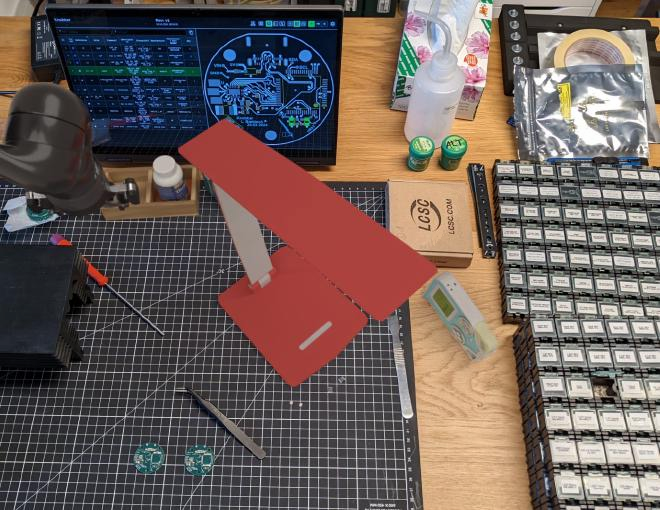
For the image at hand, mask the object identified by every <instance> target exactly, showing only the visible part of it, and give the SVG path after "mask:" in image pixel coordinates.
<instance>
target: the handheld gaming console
mask: <svg viewBox="0 0 660 510" xmlns="http://www.w3.org/2000/svg"><path fill="white" fill-rule="evenodd" d="M420 297H421V299H422V300H426V301H427V302H428V303H429V304H430V306H431V307H432V308H433V310H434V312H435V313H436V314H437V316H438V317H439V319H440V320H441V322H442V323H443V324H444V326H445V327H446V329H447V330H448V331H449V333H450V334H451V336H452V337H453V338H454V340H455V341H456V342H457V343H459V345H460V346H461V347H462V349H463V351H464V352H465V353H466V355H467V356H468V358H469V360H471V362H472V363H473V364H476V363H478V362H479V361H481V362H482V361H484V360H486V359H487V358H489V357H490V356H492V355H493V354H495V352H496V351H497V349H498V347H499V342H498V339H497V338H496V336H495V334H494V333H493V331H492V330H491V329H490V327H489V326H488V324H487V321H486V318H485V317H484V315H483V313H482V312H481V310H480V309H479V308H478V306H477V305H476V303H474V301H473V299H471V297H470V296H469V294H468V293H467V291H466V290H465V288H464V287H463V286H462V284H461V283H460V282H459V280H458V279H457V277H456V276H454V274H453V273H451V271H447V270H445V271H443V272H441V273H440V274H438V275H437V276H435V277H432V279H431V281H430V283H428V285H427V287H426V288H425V289H424V292H423V293H422V295H421V296H420Z"/></svg>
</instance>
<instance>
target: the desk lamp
mask: <svg viewBox="0 0 660 510" xmlns="http://www.w3.org/2000/svg"><path fill="white" fill-rule="evenodd" d="M177 151H178V154H179V155H180V156H182V158H184V159H185V160H187V161H188V162H189V163H190V165H192V164H193V165H194V166H195V167H196V168H197V169H198V171H199V172H202V173H203V174H204V176H205V177H206V178H207V179H208V180H209V179H210V180H212V183H213V186H214V189H215V192H216V195H217V198H218V201H219V202H218V201H217V202H218V204H219V207H220V210H221V214H222V216H223V219H224V222H225V225H226V227H227V230H228V232H229V236H230V238H231V240H232V244H233V246H234V248H235V251H236V253H237V256H238V258H239V260H240V263H241V266H242V267H243V270H244V271H245V275H244V276H243V277H241V278H239V279H238V280H237V281H235V282H234V283H233V284H232V285H230V287H227V289H226V290H224V291H223V292H222V293H221V294H219V295H218V298H217V302H218V304H219V306H220V307H221V308H222V309H223V311H225V313H226V314H227V315H228V316H229V318H230V319H231V320H232V321H233V323H235V324H236V326H237V327H238V328H239V330H240V331H241V332H242V333H243V334H244V335H245V336H246V338H247V339H248V340H249V341H250V342H251V343H252V345H253V346H254V347H255V348H256V350H257V351H258V352H259V353H260V354H261V355H262V356H263V357H264V358H265V360H266V361H267V362H268V363H269V365H271V367H272V369H274V370H275V372H277V374H278V375H279V376H280V377H281V379H283V381H284V382H285V384H287V385H288V386H290V387H291V388H295V387H298V386H300V385H301V384H302V383H304V382H305V381H307V380H308V379H309V378H310V377H311V376H314V375H315V374H316V373H317V372H318V371H320V370H321V369H322V368H324V367H325V366H327V365H328V364H329V363H331V362H332V361H334V360H335V359H336V358H337V357H338V356H339V355H340V354H341V353H342V352H343V351H344V350H345V348H347V346H348V345H349V344H350V343H352V341H353V340H354V339H355V338H356V337H357V336H358V334H359V333H360V332H362V330H363V329H364V328H365V327H366V326H367V325H368V322H369V318H368V317H367V315H366V314H368V315H369V316H370V317H371V318H372V319H373V320H375V321H379V322H384V321H385V320H387V319H388V317H390V316H391V315H392V314H393V313H394V312H395V311H396V310H397V309H399V308H400V307H401V306H402V305H403V304H404V303H405V302H407V300H409V299H410V298H411V297H412V296H413V295H414V294H415V293H417V291H419V290H420V289H421V288H422V287H423V286H424V285H425V284H427V282H429V281H430V280H432V279H433V278H434V276H435V275H436V274H438V273H439V270H438V268H437V265H436V264H434V263H433V262H432V261H430V260H429V259H427V257H425V256H424V255H422V254H421V253H419V252H418V251H417V250H415V249H414V248H412V247H411V246H410V245H408V243H406V242H404V241H403V240H402V239H400V238H399V237H397V236H396V235H395V234H393V233H392V232H390V231H389V230H388V229H387V228H385V227H384V226H382V225H381V224H380V223H379V222H378V221H376V220H375V219H373V218H372V217H370V216H369V215H367V214H366V213H365V212H364V211H362V210H361V209H359V208H358V207H357V206H355V205H354V204H352V203H351V202H350V201H349V200H347V198H344V197H343V196H342V195H340V194H339V193H338V192H336V191H335V190H334V189H332V188H330V187H329V186H328V185H326V184H325V183H324V182H323V181H322V180H320V179H318V178H317V177H316V176H315V175H313V174H312V173H310V172H308V171H307V170H306V169H304V168H302V167H301V166H299V165H298V164H296V163H295V162H293V161H292V160H291V159H289V158H287V157H286V156H284V155H282V154H281V153H279V152H278V151H277V150H275V149H273V148H272V147H270V146H268V145H267V144H266V143H264V142H263V141H261V140H259V139H258V138H256V137H255V136H253V135H252V134H251V133H249V132H247V131H245V130H244V129H242V128H241V127H239V126H238V125H236V124H235V123H234V122H231V121H230V120H229V119H225V118H223V119H221V120H219V121H218V122H216V123H215V124H213V125H211V126H210V127H209V128H207V129H205V130H204V131H202V132H201V133H199V134H198V135H196V136H195V137H193V138H192V139H190V140H189V141H187V142H186V143H184V144H182V145H180V146H179V147H178V150H177ZM202 173H201V174H202ZM260 223H261V224H262V225H263V226H264V227H266V228H267V229H268V230H269V231H271V233H273V234H274V235H275V236H276V237H278V238H279V239H280V240H281V241H282V242H283V243H284V244H286V245H284V246H281V247H280V248H279V249H277V250H276V251H274V252H273V253H272V254H271V255H269V252H268V249H267V245H266V243H265V239H264V237H263V233H262V230H261V227H260ZM353 302H354V303H353ZM357 305H358V306H357ZM360 308H361V309H362V310H361V309H360ZM363 311H365V312H366V313H364V312H363Z"/></svg>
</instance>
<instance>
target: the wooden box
mask: <svg viewBox="0 0 660 510" xmlns="http://www.w3.org/2000/svg"><path fill="white" fill-rule="evenodd" d="M178 165H179V166H180V167H181V169H182V171H183V175H184V178H185V181H186V184H187V187H188V191H189V196H188V198H187V200H186V201H168V202H163V201H162V199H161V197H160V194H159V192H158V189H157V187H156V184H155V182H154V179H153V171H154V168H153V166H139V167H120V168H119V167H118V168H104V172H105V174H106V176H107V178H108V181H110V182H112V183H114V184H115V185H122V184H123V181H125V179H126V178H134V180H135V182H136V183H137V185H138V187H139V196H140V204H138V205H134V204H131V202H129V207H125V210H124V211H120V210H119V208H118V206H116V207H113V208H104V207H101V208H100V209H99V210H100V212H101V214H102V216H103V218H104V219H105V221H120V220H121V221H122V220H138V219H139V220H140V219H155V218H172V217H191V216H199V215H200V195H201V194H200V193H201V174H200V170H199V169H197V168H196V167H195V166H194V165H193V164H178ZM116 194H117V193H116ZM106 202H107V201H106Z"/></svg>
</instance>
